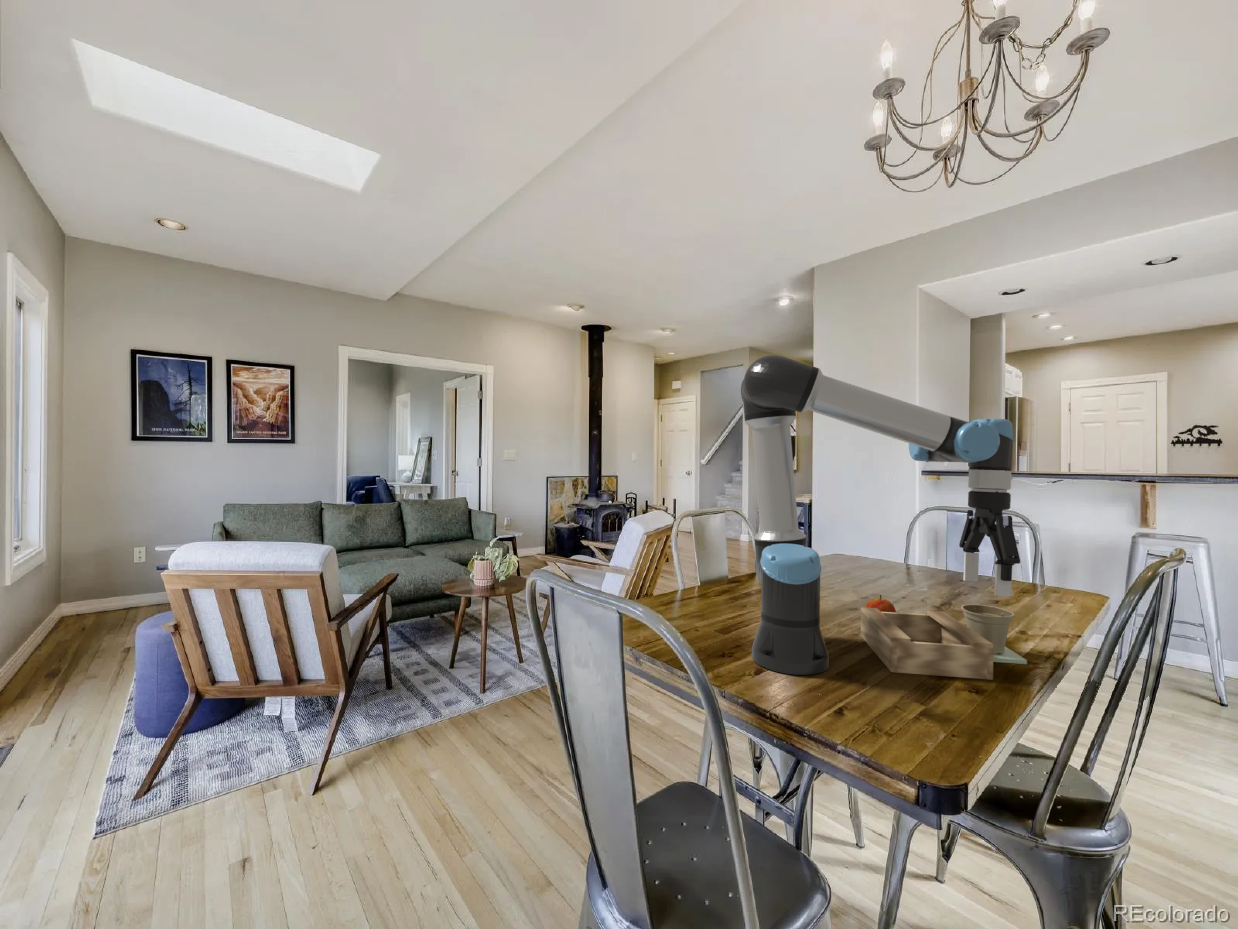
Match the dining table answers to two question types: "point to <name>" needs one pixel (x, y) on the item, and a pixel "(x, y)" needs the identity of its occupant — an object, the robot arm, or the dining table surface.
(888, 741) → the dining table surface
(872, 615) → the crate
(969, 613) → the flower pot
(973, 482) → the robot arm
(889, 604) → the fruit
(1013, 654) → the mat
